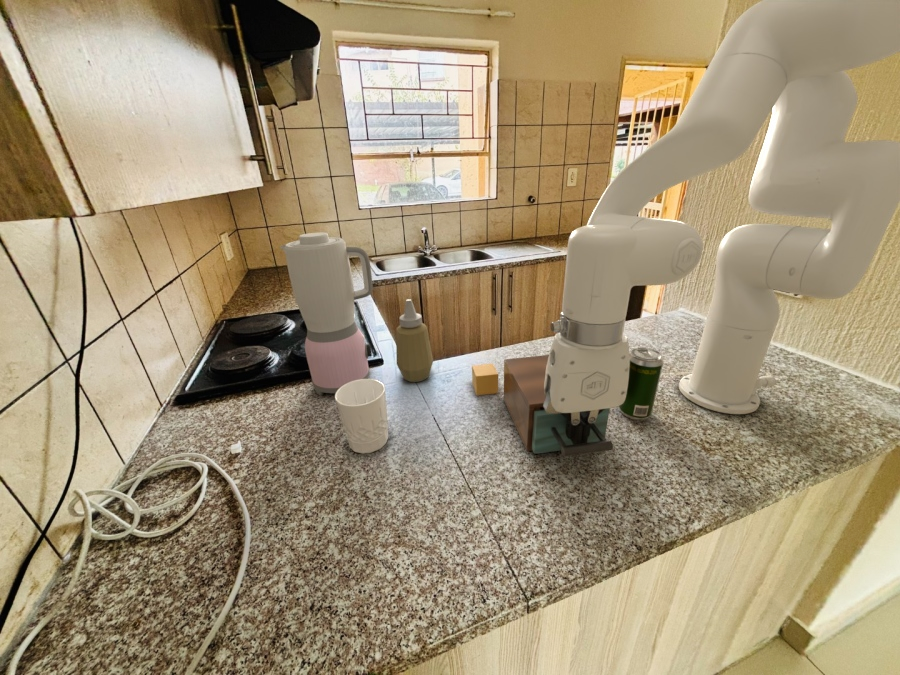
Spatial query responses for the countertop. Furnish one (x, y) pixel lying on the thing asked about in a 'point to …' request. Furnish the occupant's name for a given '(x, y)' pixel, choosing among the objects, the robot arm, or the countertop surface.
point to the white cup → (363, 414)
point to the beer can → (642, 383)
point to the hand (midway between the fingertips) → (576, 440)
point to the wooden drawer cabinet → (524, 392)
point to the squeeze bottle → (413, 346)
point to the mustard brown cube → (484, 379)
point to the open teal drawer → (554, 438)
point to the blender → (329, 308)
